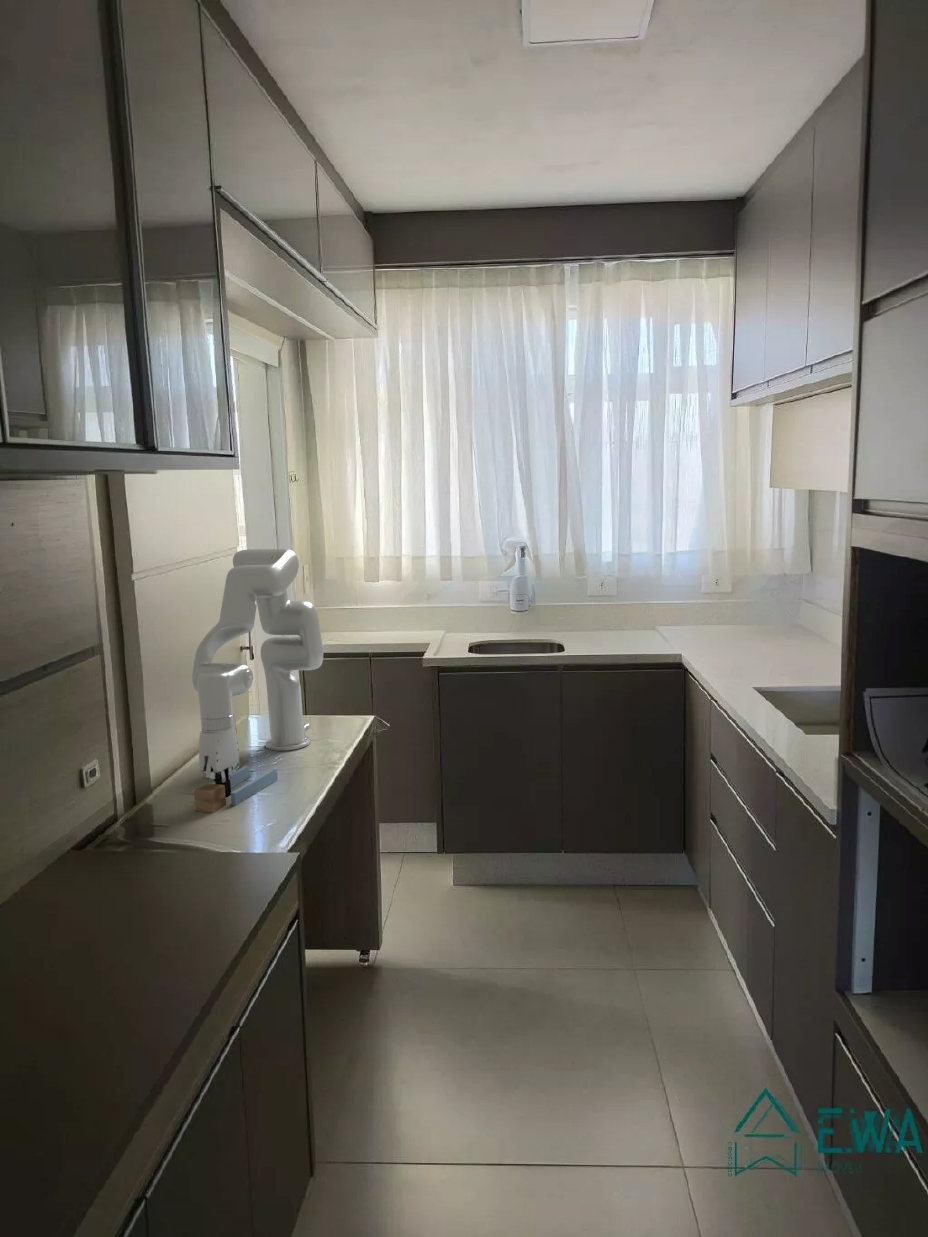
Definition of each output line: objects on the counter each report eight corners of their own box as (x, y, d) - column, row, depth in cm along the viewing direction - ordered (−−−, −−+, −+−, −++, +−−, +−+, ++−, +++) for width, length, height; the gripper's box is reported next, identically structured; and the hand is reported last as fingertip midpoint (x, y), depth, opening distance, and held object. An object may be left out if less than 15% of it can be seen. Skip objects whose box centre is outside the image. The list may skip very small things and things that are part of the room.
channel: (246, 776, 232) (245, 765, 232) (277, 780, 229) (276, 768, 229) (202, 801, 216) (201, 789, 215) (235, 805, 212) (234, 793, 212)
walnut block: (208, 803, 215) (207, 783, 214) (226, 805, 213) (224, 785, 212) (195, 810, 210) (193, 790, 209) (213, 813, 208) (211, 792, 207)
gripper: (223, 713, 221) (229, 784, 224) (184, 730, 207) (191, 805, 210) (249, 715, 218) (254, 786, 221) (211, 732, 205) (218, 809, 208)
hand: (224, 795), depth 216 cm, fingers closed
